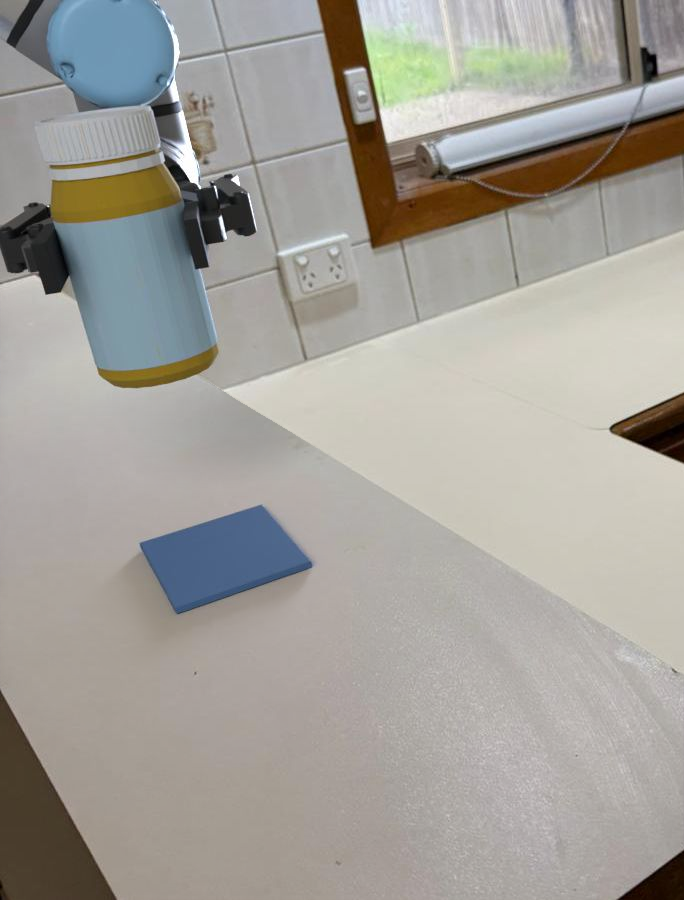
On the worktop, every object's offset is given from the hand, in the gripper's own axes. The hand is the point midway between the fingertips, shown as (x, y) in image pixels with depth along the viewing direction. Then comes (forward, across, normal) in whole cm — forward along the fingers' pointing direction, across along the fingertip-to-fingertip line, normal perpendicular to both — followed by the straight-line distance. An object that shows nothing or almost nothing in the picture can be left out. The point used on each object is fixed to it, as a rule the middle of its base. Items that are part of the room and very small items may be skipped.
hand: (122, 256), depth 61 cm
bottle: (-5, 0, +8) cm, 10 cm away
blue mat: (+2, +1, +18) cm, 18 cm away
